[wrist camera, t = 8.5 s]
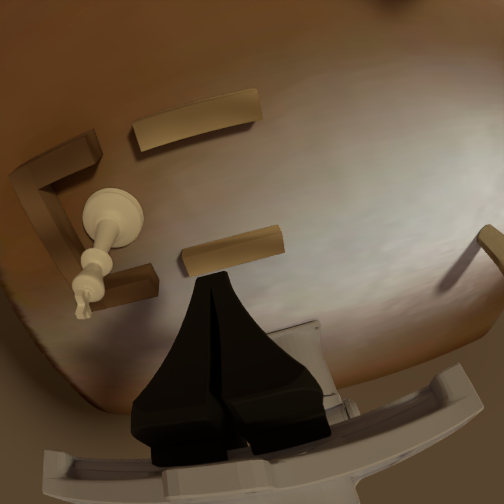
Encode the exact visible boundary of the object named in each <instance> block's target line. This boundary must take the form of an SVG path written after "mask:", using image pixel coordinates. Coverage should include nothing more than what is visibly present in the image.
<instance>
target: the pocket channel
mask: <svg viewBox="0 0 504 504" xmlns="http://www.w3.org/2000/svg"><path fill="white" fill-rule="evenodd" d="M262 119H263V116H262V111H261V106H260V100H259V95H258V90H257V89H255V88H252V89H247V90H242V91H237V92H232V93H228V94H223V95H219V96H215V97H211V98H207V99H203V100H199V101H195V102H192V103H188V104H184V105H181V106H177V107H174V108H171V109H167V110H164V111H161V112H158V113H155V114H152V115H149V116H146V117H143V118H140V119H137V120H135V121H134V122H133V123H132V125H133V128H134V131H135V134H136V137H137V140H138V143H139V146H140V149H141V152H142V151H145V150H148V149H151V148H154V147H157V146H161V145H164V144H167V143H170V142H174V141H177V140H180V139H184V138H187V137H191V136H194V135H198V134H202V133H206V132H209V131H213V130H217V129H221V128H225V127H230V126H234V125H238V124H243V123H247V122H252V121H257V120H262ZM281 253H285V250H284V243H283V236H282V232H281V230H280V227H279V225H274V226H271V227H267V228H263V229H259V230H255V231H251V232H247V233H243V234H239V235H235V236H231V237H228V238H224V239H220V240H216V241H212V242H208V243H205V244H201V245H197V246H193V247H190V248H186V249H182V259H183V262H184V264H185V267H186V269H187V271H188V274H189V276H190V277H192V276H196V275H200V274H203V273H207V272H211V271H215V270H219V269H223V268H227V267H231V266H235V265H239V264H242V263H246V262H250V261H254V260H258V259H262V258H266V257H269V256H273V255H277V254H281Z"/></svg>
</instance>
